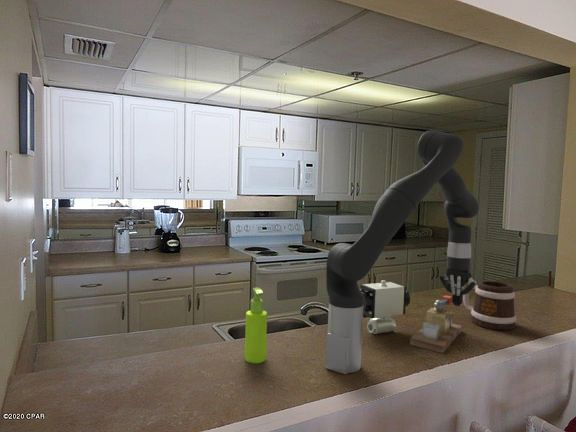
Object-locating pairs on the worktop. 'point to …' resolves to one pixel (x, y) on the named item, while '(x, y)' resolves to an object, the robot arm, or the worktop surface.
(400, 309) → the ball valve
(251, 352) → the soap dispenser
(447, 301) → the lever
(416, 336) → the valve base
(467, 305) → the mug
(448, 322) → the valve pipe
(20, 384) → the worktop surface
